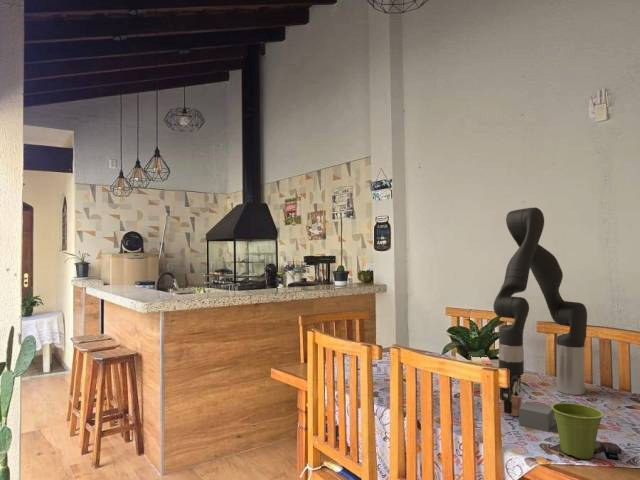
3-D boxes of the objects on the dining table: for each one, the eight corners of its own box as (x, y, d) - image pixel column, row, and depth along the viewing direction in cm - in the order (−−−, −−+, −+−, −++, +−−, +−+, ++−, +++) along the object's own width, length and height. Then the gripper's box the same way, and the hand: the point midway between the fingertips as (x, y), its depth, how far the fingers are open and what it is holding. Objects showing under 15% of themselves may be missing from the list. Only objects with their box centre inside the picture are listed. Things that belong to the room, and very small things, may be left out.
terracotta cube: (505, 408, 153) (505, 393, 153) (521, 412, 150) (521, 396, 150) (500, 413, 149) (500, 397, 149) (517, 416, 146) (517, 400, 146)
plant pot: (615, 460, 116) (614, 414, 116) (579, 467, 112) (579, 420, 112) (574, 441, 127) (574, 400, 127) (540, 447, 123) (540, 404, 123)
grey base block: (525, 417, 145) (525, 401, 145) (554, 423, 140) (554, 406, 140) (519, 425, 138) (519, 408, 139) (548, 431, 134) (548, 414, 134)
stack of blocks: (466, 380, 187) (466, 349, 187) (483, 381, 185) (483, 350, 186) (473, 396, 166) (473, 362, 166) (492, 397, 164) (492, 363, 165)
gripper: (505, 352, 158) (505, 402, 157) (492, 360, 146) (492, 413, 146) (529, 356, 153) (529, 406, 153) (517, 364, 142) (517, 419, 141)
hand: (511, 409), depth 149 cm, fingers open, 6 cm apart
